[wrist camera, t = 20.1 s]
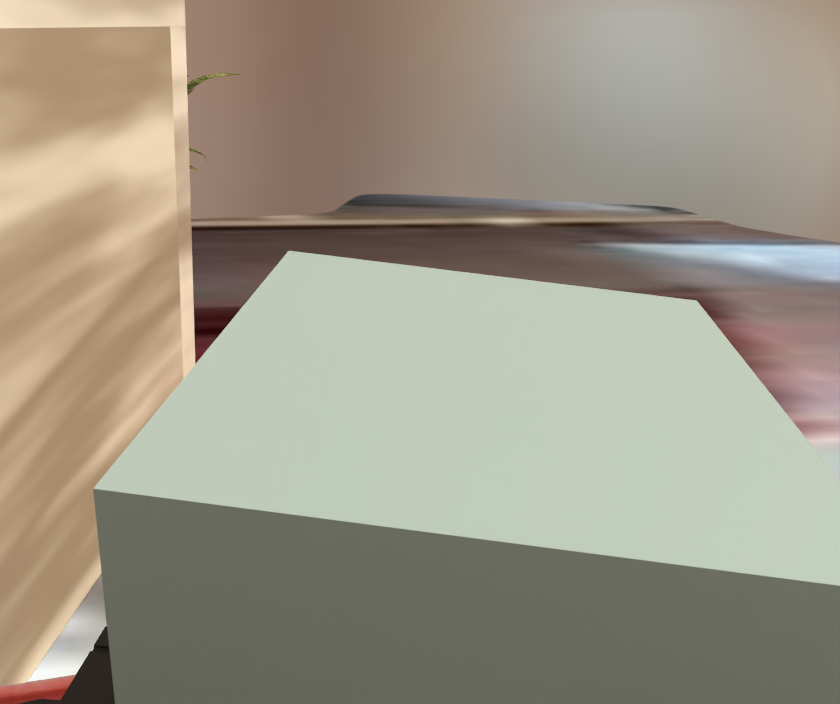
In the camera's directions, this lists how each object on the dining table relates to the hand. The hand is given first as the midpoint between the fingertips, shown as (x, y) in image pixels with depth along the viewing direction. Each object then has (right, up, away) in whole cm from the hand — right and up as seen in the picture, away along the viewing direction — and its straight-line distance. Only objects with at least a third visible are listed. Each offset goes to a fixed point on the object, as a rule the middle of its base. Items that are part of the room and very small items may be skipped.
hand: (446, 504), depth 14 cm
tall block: (-1, -8, -2) cm, 8 cm away
